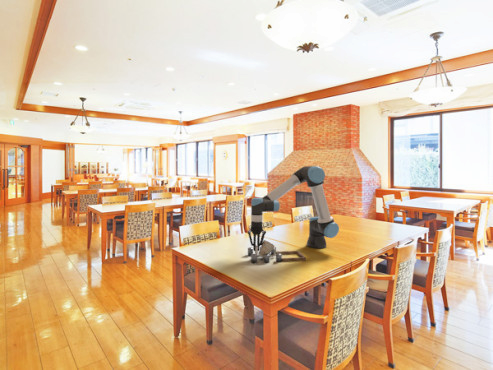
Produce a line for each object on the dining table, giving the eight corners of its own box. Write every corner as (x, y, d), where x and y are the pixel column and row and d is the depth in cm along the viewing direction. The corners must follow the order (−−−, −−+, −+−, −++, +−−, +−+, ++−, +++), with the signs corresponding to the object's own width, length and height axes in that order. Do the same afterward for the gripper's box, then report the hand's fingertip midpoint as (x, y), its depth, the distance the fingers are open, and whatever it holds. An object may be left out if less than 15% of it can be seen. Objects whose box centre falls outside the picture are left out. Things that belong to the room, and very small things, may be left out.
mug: (255, 251, 188) (262, 238, 188) (269, 257, 192) (276, 245, 192) (259, 256, 180) (266, 243, 180) (274, 263, 184) (281, 250, 185)
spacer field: (275, 253, 197) (275, 246, 196) (282, 262, 178) (282, 254, 178) (247, 254, 194) (247, 247, 193) (251, 263, 175) (251, 255, 175)
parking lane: (298, 253, 198) (298, 250, 197) (305, 260, 182) (306, 257, 182) (275, 254, 195) (276, 251, 195) (281, 261, 180) (281, 258, 180)
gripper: (265, 219, 188) (264, 253, 190) (246, 220, 187) (245, 254, 188) (267, 221, 181) (266, 257, 182) (247, 222, 179) (247, 257, 181)
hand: (256, 255), depth 185 cm, fingers closed
